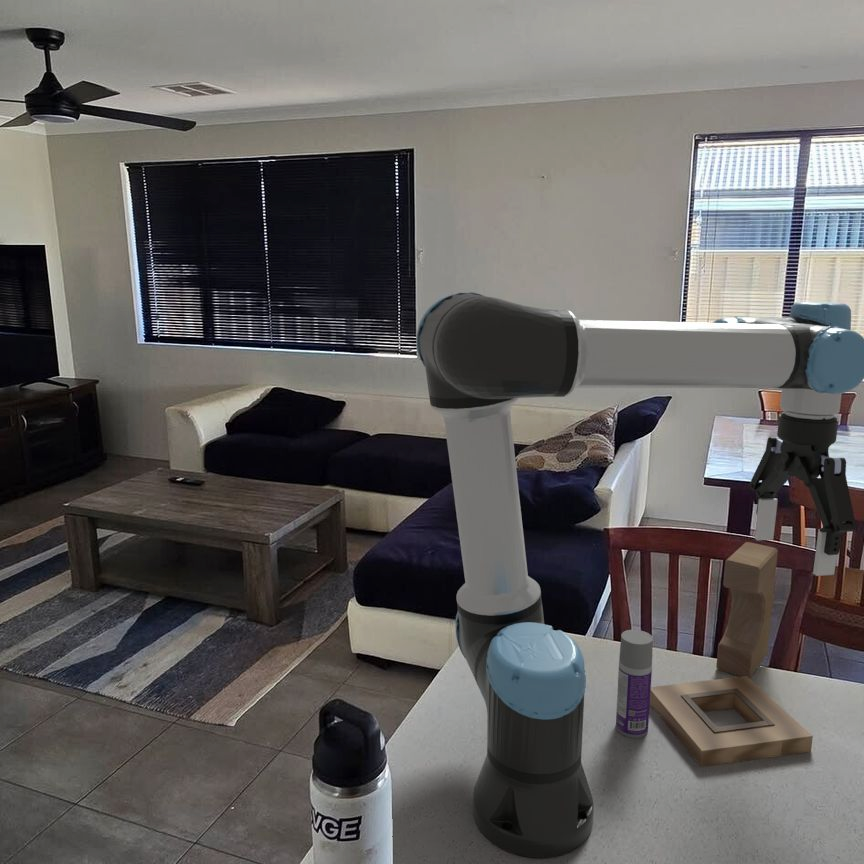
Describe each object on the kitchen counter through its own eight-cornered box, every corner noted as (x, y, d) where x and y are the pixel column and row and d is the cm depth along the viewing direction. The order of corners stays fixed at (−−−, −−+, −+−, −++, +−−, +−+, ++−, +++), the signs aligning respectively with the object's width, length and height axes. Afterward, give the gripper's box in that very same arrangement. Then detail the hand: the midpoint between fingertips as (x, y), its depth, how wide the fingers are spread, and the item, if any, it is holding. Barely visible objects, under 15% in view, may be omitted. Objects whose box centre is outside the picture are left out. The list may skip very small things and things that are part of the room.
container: (652, 725, 113) (657, 634, 110) (642, 741, 109) (648, 648, 106) (621, 715, 115) (626, 626, 112) (611, 731, 112) (615, 639, 108)
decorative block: (748, 681, 125) (759, 568, 120) (714, 669, 128) (723, 559, 124) (769, 654, 133) (779, 548, 128) (736, 644, 136) (745, 540, 132)
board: (700, 766, 104) (702, 749, 103) (647, 701, 119) (648, 686, 118) (810, 751, 107) (812, 734, 106) (745, 689, 122) (746, 674, 121)
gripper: (901, 432, 94) (878, 589, 99) (777, 397, 118) (763, 525, 123) (848, 434, 93) (827, 593, 97) (734, 398, 117) (721, 528, 121)
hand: (791, 555), depth 110 cm, fingers open, 13 cm apart
